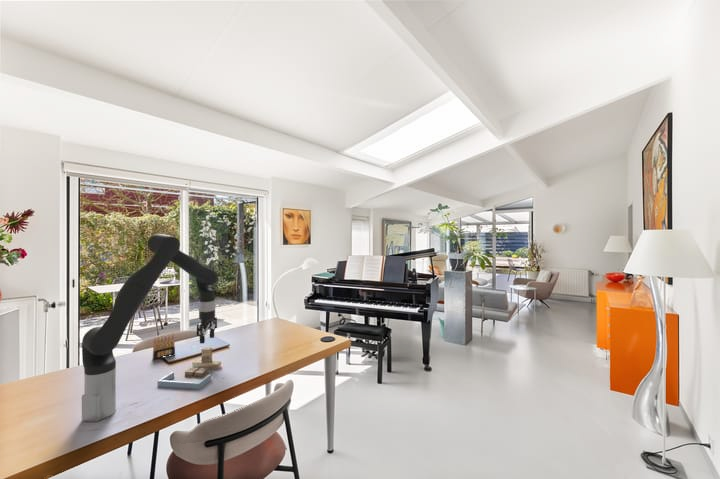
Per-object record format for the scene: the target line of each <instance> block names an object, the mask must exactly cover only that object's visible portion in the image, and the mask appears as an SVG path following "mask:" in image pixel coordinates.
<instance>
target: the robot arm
mask: <svg viewBox="0 0 720 479" xmlns="http://www.w3.org/2000/svg"><path fill="white" fill-rule="evenodd" d="M180 246H181V243H180V240H179V238H178V237H176V236H174V235H169V234H165V233H155V234H153V235H152V236H150V237H149V238H148V240H147V249H149V251H150V252H151V253H153V256H152V257H151V259H150V260H149V261H148V262H147V263H146V264H144V266H142V267H140V268H139V269H138V270H136V271H134V273H133V274H131V275H129V277H128V278H126V280H125V282H124V283H123V285H122V286H121V288H120V290H119V291H118V293H117V294H116V298H115V300H114V304H113V307H112V310H111V312H110V314H109V316H108V318H107V319H106V320H105V322H104V323H103V325H102V326H95V327H91V329H89V330H87V332H86V333H84V336H83V337H82V341H81V353H82V354H81V358H82V366H83V369H84V370H83V372H84V375H83V376H84V383H83V385H84V386H83V387H84V393H83V394H82V395H81V421H83V422H93V423H97V422H99V421H101V420H104V419H107V418H108V417H110V416H112V415H114V414H115V413H116V408H117V403H116V401H117V400H116V398H117V397H116V396H117V388H116V387H117V384H116V382H117V379H116V378H117V377H116V376H117V375H116V374H117V370H116V369H117V368H116V366H117V361H116V359H115V356H114V353H113V350H115V348H116V347H117V346H118V345H119V342H120V340H121V339H122V336H123V334H124V332H125V331H126V329H127V327H128V325H129V323H130V322H131V320H132V318H133V317H134V316H135V314H136V313H137V311H138V309H139V308H140V307H141V304H142V303H143V302H144V301H145V300H146V297H147V296H148V294H149V293H150V291H151V290H152V288H153V286H154V285H155V283H156V282H157V280H158V279H159V277H160V276H161V274H162V273H163V272H164V270H165V269H166V267H167V266H168V265H169V264H170V263H173V264H174V265H175V266H177V267H179V268H180V269H182V271H184V272H186V273H187V274H188V275H190V276H192V277H194V278H195V283H196V286H197V289H198V293H199V304H198V319H199V320H200V321H201V322H200V323H197V324H196V336H197V337H199V344H203V345H204V344H205V343H206V333H207V332H208V330H209V338H210V339H214V338H215V331H216V329H218V321H217V320H218V318H217V317H216V303H215V302H216V301H215V296H216V295H215V294H216V293H215V290H214V289H212V288H210V287H209V286H213V285H215V284H217V282H218V280H219V275H218V274H217V272H216V271H215V270H213V269H212V268H209V267H207V266H204V265H203V263H201V262H199V260H197V259H195V258H194V257H193V256H190V255H188V254H186V253H185V252H183V251H181V250H180Z"/></svg>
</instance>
